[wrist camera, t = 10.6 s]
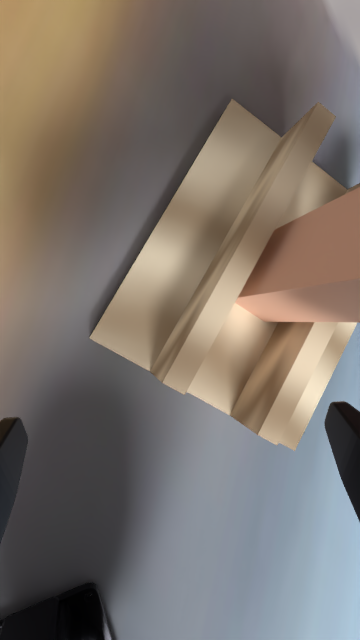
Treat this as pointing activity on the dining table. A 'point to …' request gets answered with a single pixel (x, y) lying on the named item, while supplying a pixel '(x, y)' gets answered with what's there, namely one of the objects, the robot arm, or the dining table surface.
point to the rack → (231, 280)
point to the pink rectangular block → (310, 268)
